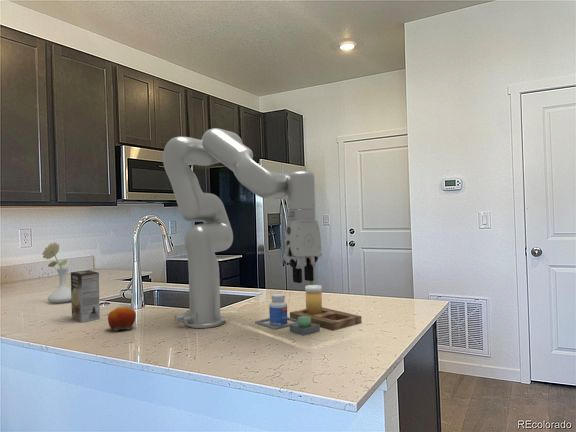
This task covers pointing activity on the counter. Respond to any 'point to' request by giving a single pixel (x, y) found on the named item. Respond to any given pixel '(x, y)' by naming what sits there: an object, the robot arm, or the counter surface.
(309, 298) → the seated bottle
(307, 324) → the button
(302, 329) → the button housing
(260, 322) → the gray square frame
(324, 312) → the wooden bottle holder
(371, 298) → the counter surface
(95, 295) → the coffee box
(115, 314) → the fruit
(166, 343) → the counter surface
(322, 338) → the counter surface
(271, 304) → the pill bottle
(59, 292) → the flower in vase
